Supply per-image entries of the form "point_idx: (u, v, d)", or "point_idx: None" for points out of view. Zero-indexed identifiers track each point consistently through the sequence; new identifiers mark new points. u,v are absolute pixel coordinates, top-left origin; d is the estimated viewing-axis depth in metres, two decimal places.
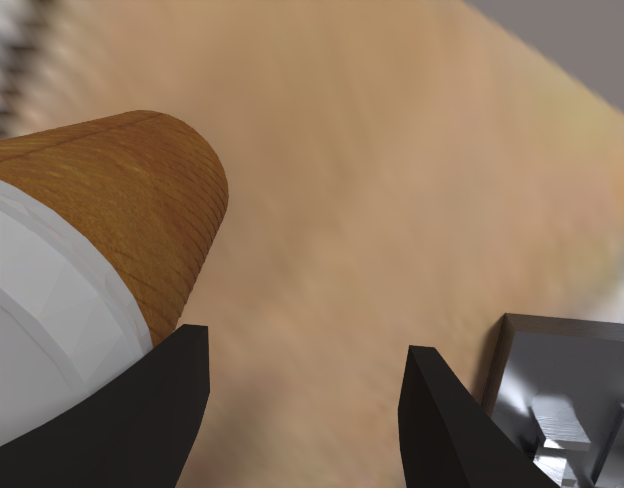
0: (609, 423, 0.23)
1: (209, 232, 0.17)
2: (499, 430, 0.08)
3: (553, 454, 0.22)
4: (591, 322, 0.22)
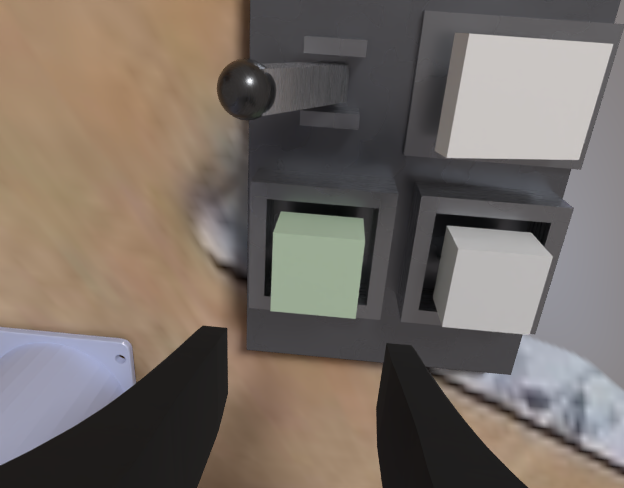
0: (409, 42, 0.16)
1: None
2: (468, 427, 0.08)
3: (318, 64, 0.16)
4: None
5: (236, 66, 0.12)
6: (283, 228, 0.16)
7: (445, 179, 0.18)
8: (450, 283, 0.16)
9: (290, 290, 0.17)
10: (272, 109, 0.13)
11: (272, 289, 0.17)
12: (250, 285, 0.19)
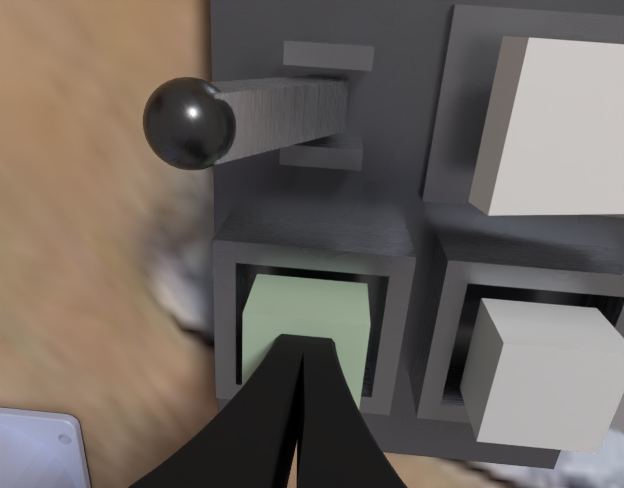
0: (432, 49, 0.12)
1: None
2: (357, 416, 0.08)
3: (304, 80, 0.11)
4: None
5: (169, 90, 0.08)
6: (257, 306, 0.12)
7: (477, 232, 0.14)
8: (491, 387, 0.11)
9: None
10: (230, 153, 0.09)
11: None
12: (217, 371, 0.14)
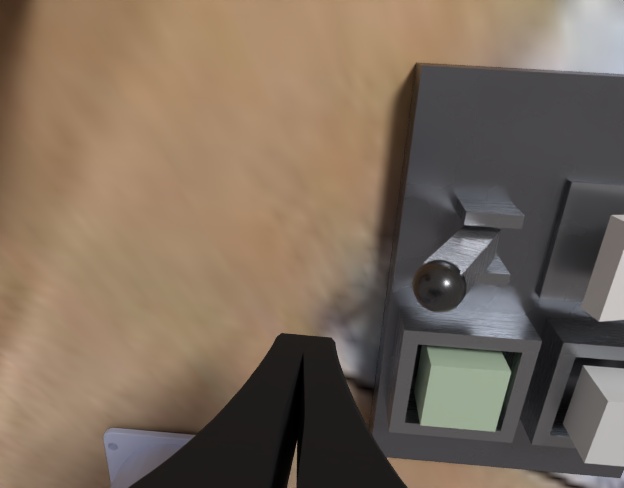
0: (552, 205, 0.18)
1: None
2: (357, 416, 0.08)
3: (477, 234, 0.17)
4: None
5: (438, 274, 0.14)
6: (437, 360, 0.19)
7: (574, 316, 0.20)
8: (597, 428, 0.18)
9: (440, 409, 0.19)
10: None
11: (424, 408, 0.19)
12: (392, 413, 0.20)
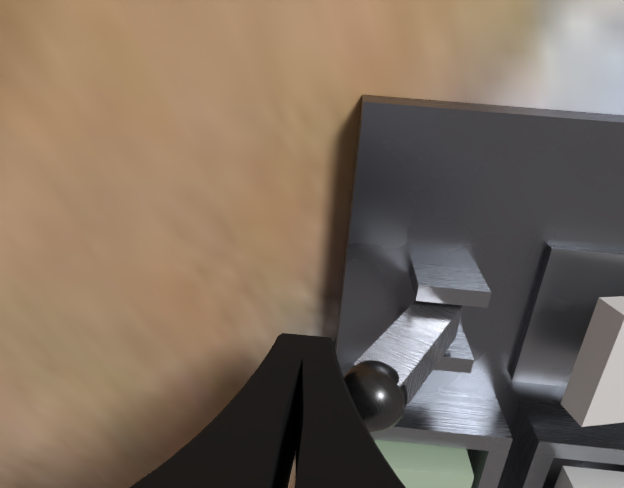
0: (528, 274, 0.15)
1: None
2: (356, 416, 0.08)
3: (432, 313, 0.14)
4: (497, 105, 0.14)
5: (368, 386, 0.11)
6: None
7: (554, 400, 0.16)
8: None
9: None
10: None
11: None
12: None
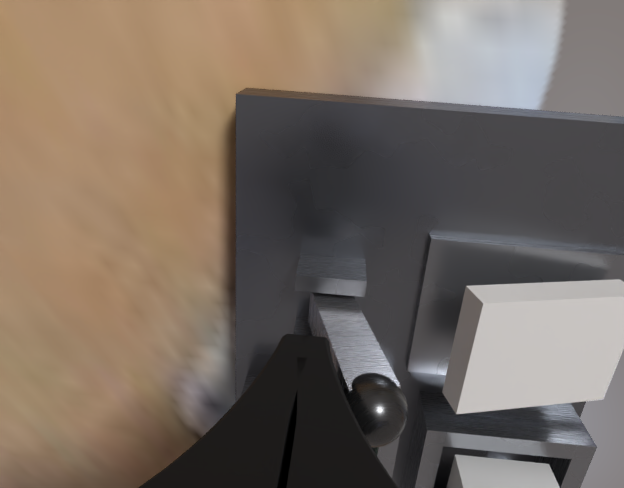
0: (414, 264, 0.15)
1: None
2: (349, 415, 0.08)
3: (340, 306, 0.14)
4: (377, 98, 0.14)
5: (385, 402, 0.10)
6: None
7: None
8: None
9: None
10: None
11: None
12: None
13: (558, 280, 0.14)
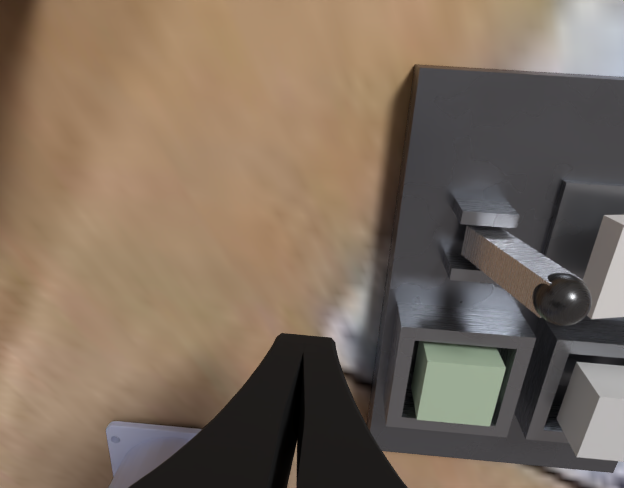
0: (547, 205, 0.18)
1: None
2: (357, 416, 0.08)
3: (499, 236, 0.17)
4: None
5: (581, 288, 0.14)
6: (433, 356, 0.19)
7: None
8: (589, 423, 0.18)
9: (436, 404, 0.20)
10: None
11: (420, 403, 0.20)
12: (390, 408, 0.21)
13: None
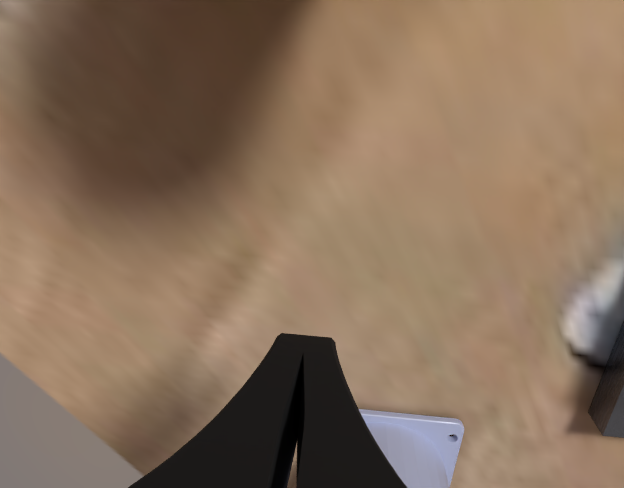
0: None
1: None
2: (357, 416, 0.08)
3: None
4: None
5: None
6: None
7: None
8: None
9: None
10: None
11: None
12: None
13: None
